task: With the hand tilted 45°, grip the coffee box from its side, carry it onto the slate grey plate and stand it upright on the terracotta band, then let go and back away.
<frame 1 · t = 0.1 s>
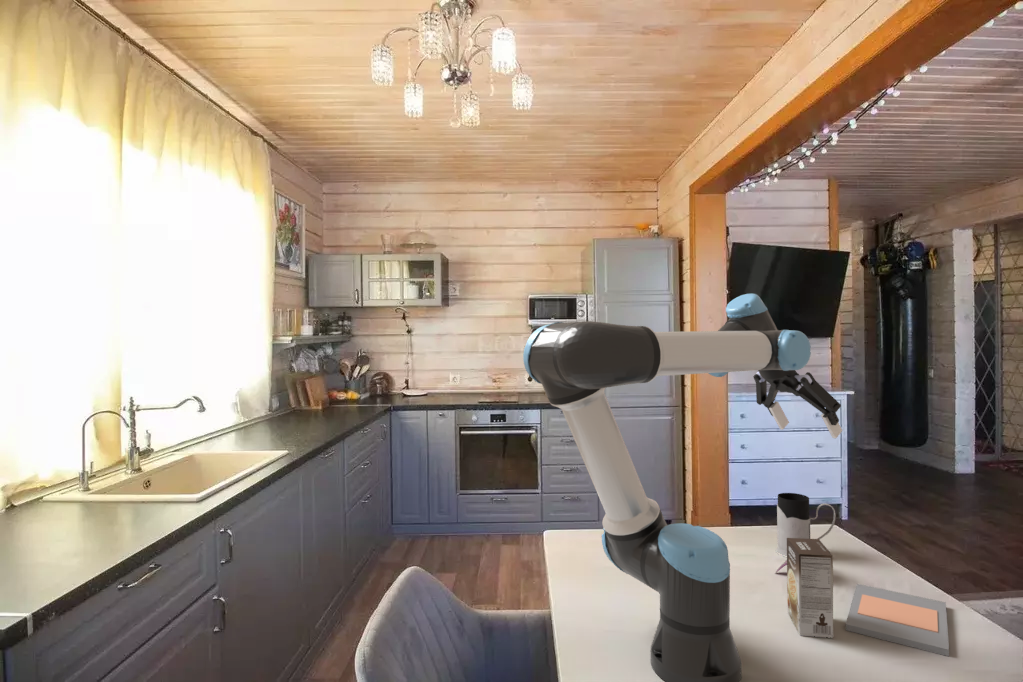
hand: (810, 430, 131), 36 cm above the table, tool tilted 35°, fingers open, 13 cm apart
coffee box: (809, 626, 113), on the table
lily: (799, 576, 136), on the table
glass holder: (805, 555, 149), on the table
slate plate: (897, 618, 115), on the table
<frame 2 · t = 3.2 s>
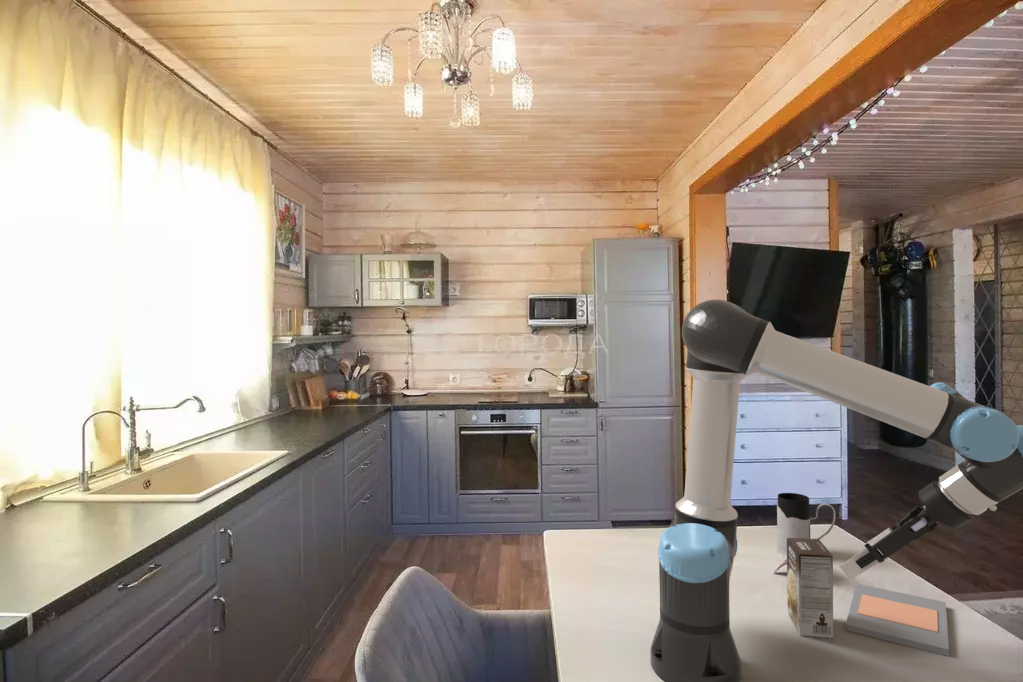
hand: (856, 561, 107), 15 cm above the table, tool tilted 45°, fingers open, 13 cm apart
nothing on the table moved.
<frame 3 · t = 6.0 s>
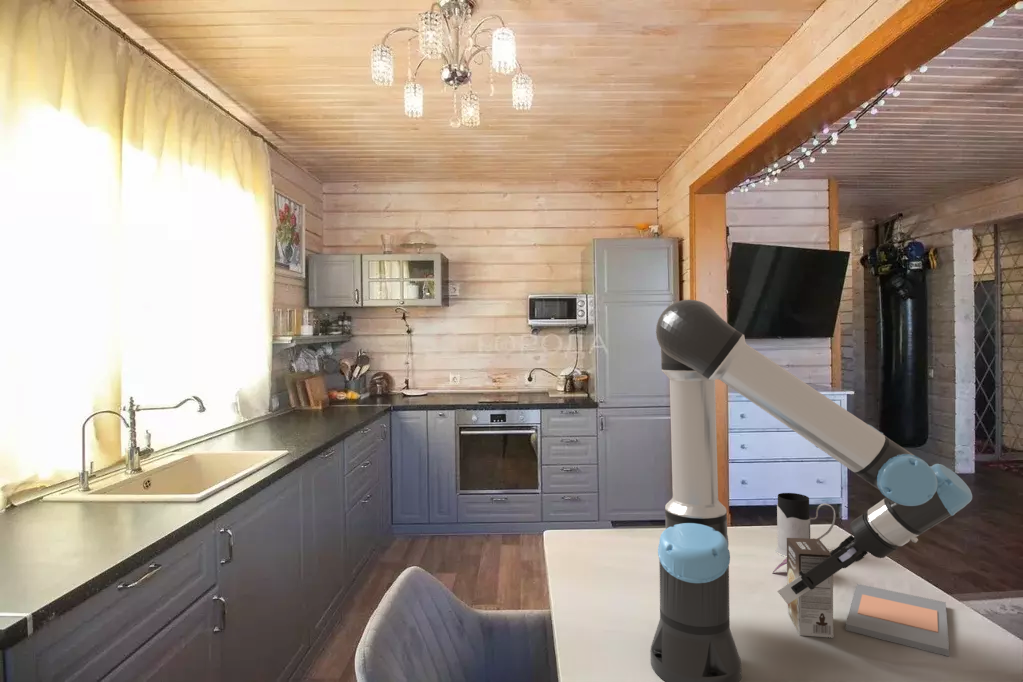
hand: (794, 587, 115), 7 cm above the table, tool tilted 45°, fingers closed on coffee box, 11 cm apart
coffee box: (809, 626, 113), on the table, touching gripper
everything else where it was.
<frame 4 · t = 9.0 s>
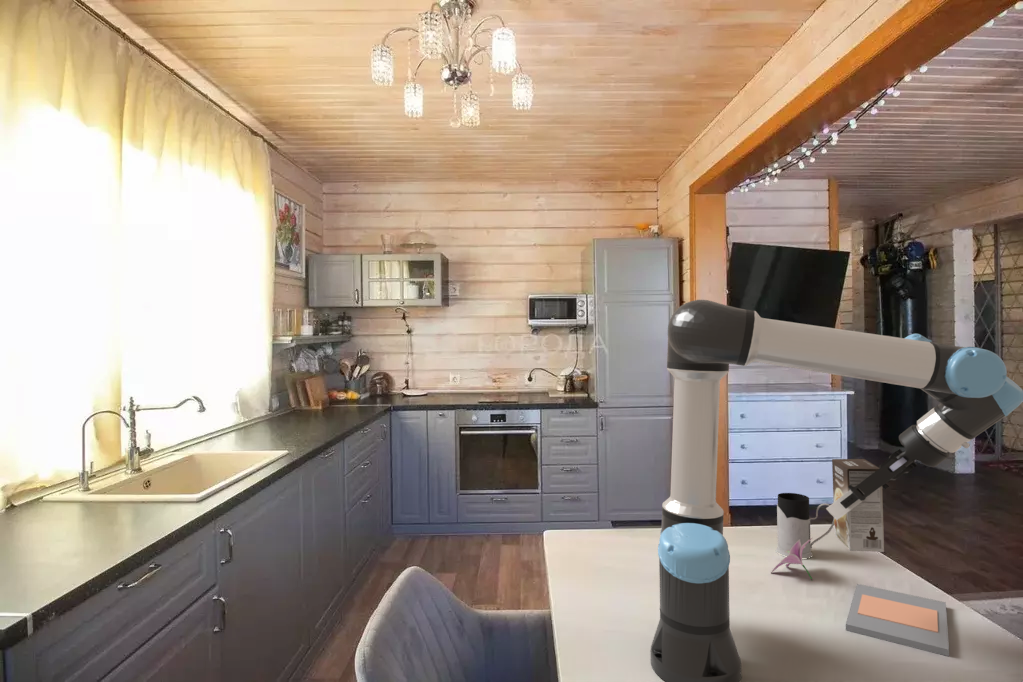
hand: (841, 507, 115), 23 cm above the table, tool tilted 45°, fingers closed on coffee box, 11 cm apart
coffee box: (858, 544, 113), point 16 cm above the table, touching gripper
everything else where it was.
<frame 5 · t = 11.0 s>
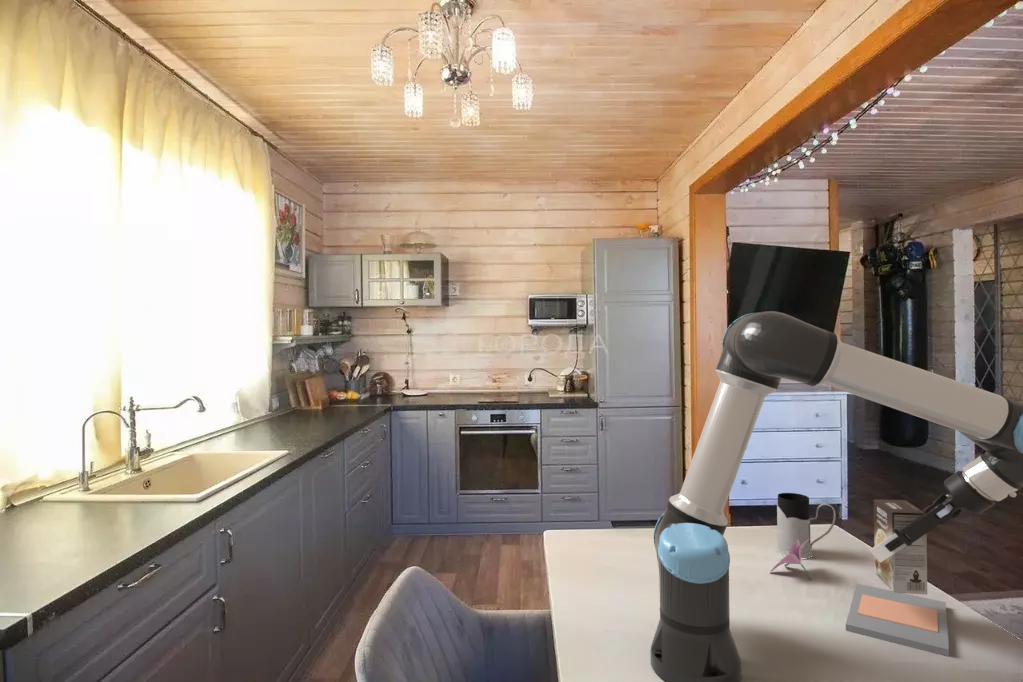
hand: (882, 548, 117), 14 cm above the table, tool tilted 45°, fingers closed on coffee box, 11 cm apart
coffee box: (900, 585, 115), point 7 cm above the table, touching gripper
when the fingers open (9 cm above the table, at t = 12.4 s): coffee box drops 1 cm, resting on slate plate.
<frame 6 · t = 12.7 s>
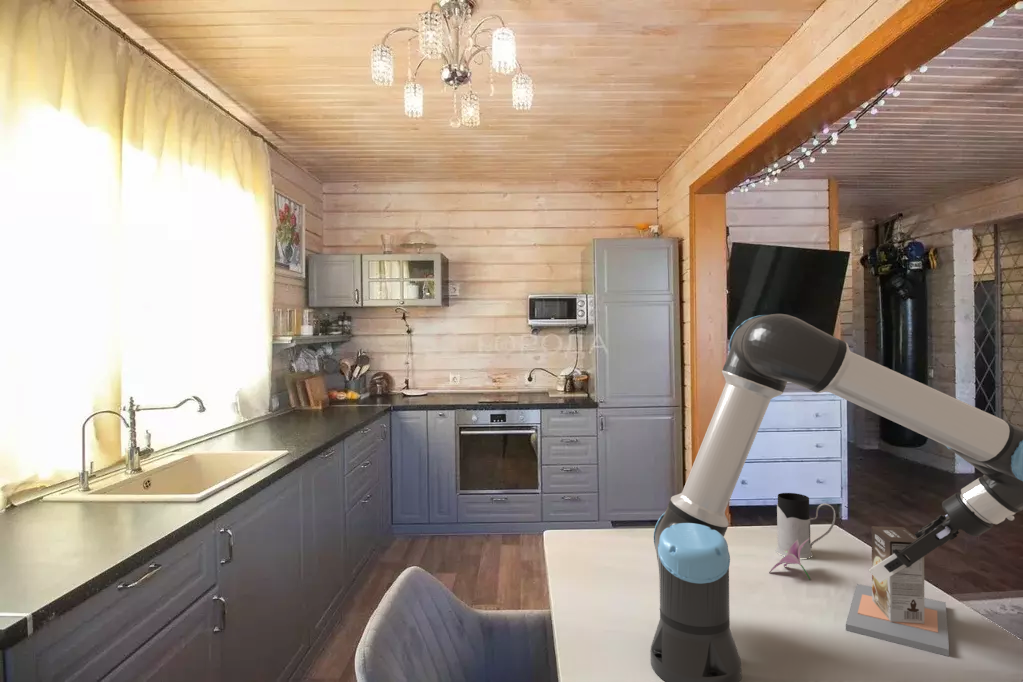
hand: (883, 566, 116), 10 cm above the table, tool tilted 45°, fingers open, 13 cm apart
coffee box: (897, 613, 115), point 1 cm above the table, touching slate plate
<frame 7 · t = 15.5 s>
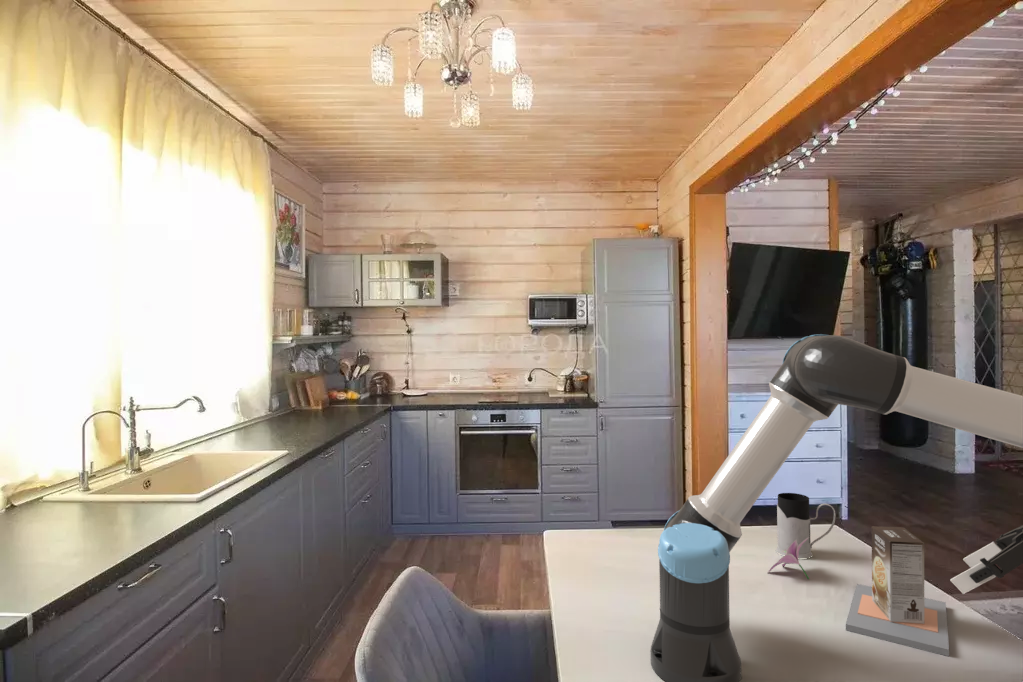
hand: (963, 575, 107), 12 cm above the table, tool tilted 45°, fingers open, 13 cm apart
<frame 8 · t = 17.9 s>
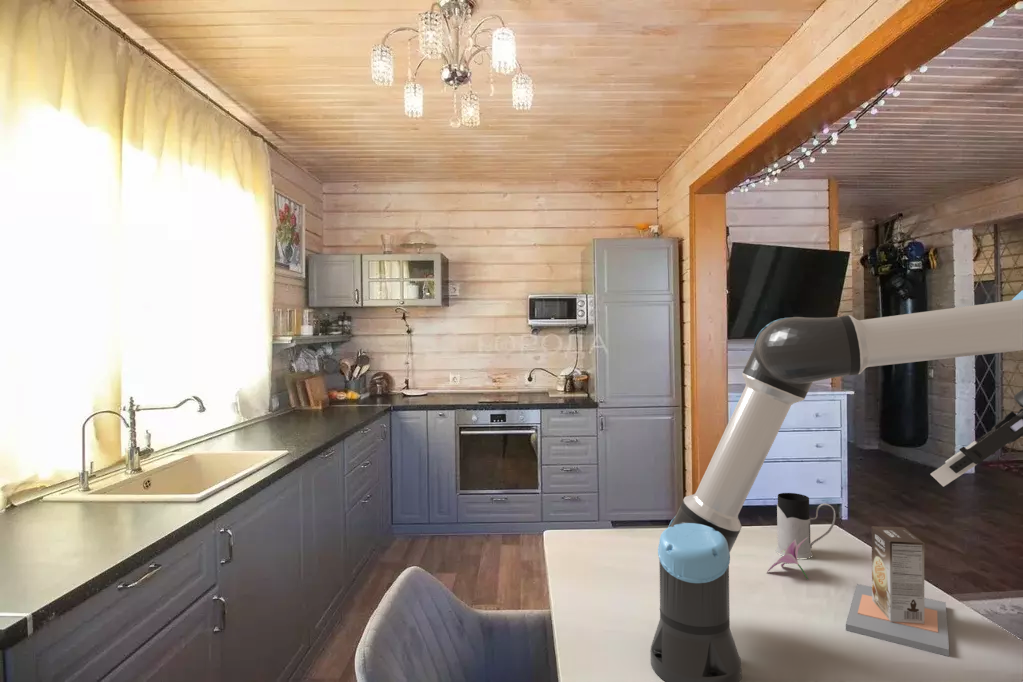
hand: (944, 473, 106), 32 cm above the table, tool tilted 45°, fingers open, 13 cm apart
at the end: coffee box inside the target area (0.3 cm from its centre), point 1.2 cm above the table; coffee box tilted 0°; the gripper is holding nothing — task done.
